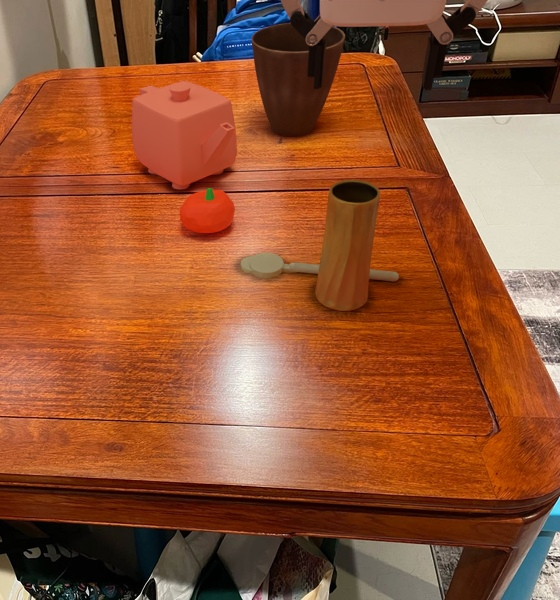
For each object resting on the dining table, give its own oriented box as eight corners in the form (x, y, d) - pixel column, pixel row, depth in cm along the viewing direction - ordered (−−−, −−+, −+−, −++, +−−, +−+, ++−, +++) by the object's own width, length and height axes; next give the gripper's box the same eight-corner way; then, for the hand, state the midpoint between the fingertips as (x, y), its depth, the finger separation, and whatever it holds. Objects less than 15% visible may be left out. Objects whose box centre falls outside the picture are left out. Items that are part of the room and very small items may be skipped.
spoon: (398, 270, 78) (399, 262, 77) (398, 292, 74) (399, 284, 74) (243, 255, 83) (243, 248, 82) (237, 275, 79) (237, 268, 79)
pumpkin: (172, 222, 90) (169, 183, 86) (223, 209, 92) (222, 170, 88) (190, 248, 85) (188, 207, 81) (244, 233, 87) (244, 193, 83)
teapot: (261, 182, 97) (263, 93, 88) (197, 211, 92) (192, 120, 83) (178, 138, 112) (173, 59, 103) (119, 161, 107) (108, 80, 98)
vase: (314, 278, 78) (324, 176, 69) (366, 281, 76) (382, 177, 67) (315, 310, 73) (325, 205, 64) (369, 313, 72) (387, 207, 63)
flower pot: (353, 128, 109) (365, 33, 99) (292, 155, 103) (298, 57, 93) (292, 105, 119) (297, 16, 109) (233, 129, 113) (232, 38, 103)
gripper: (277, -122, 47) (272, 98, 58) (532, -143, 42) (476, 101, 53) (289, -133, 53) (283, 70, 63) (515, -153, 48) (468, 70, 59)
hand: (371, 84), depth 58 cm, fingers open, 9 cm apart
